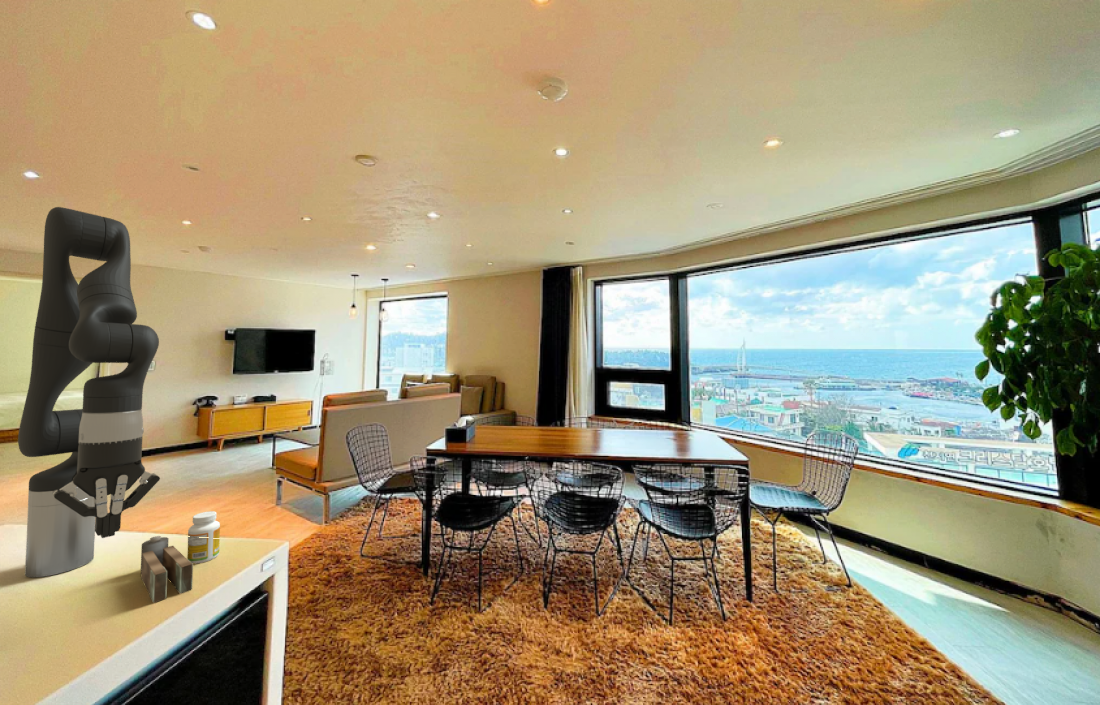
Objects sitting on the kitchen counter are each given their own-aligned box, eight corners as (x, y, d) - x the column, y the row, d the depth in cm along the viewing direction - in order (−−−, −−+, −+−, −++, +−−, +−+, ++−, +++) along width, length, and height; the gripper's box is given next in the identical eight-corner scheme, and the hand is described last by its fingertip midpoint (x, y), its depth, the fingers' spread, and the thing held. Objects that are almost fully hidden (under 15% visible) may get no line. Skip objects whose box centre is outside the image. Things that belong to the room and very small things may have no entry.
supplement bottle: (211, 550, 92) (212, 508, 92) (224, 555, 90) (225, 512, 90) (182, 560, 87) (183, 516, 87) (194, 566, 85) (196, 520, 85)
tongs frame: (138, 571, 82) (139, 538, 83) (167, 562, 86) (168, 531, 86) (160, 600, 73) (162, 563, 73) (192, 589, 76) (193, 554, 76)
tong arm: (140, 578, 80) (141, 553, 80) (152, 575, 81) (153, 550, 81) (152, 603, 72) (153, 575, 72) (166, 598, 73) (167, 571, 73)
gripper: (158, 428, 77) (154, 518, 77) (49, 439, 66) (43, 543, 66) (169, 434, 73) (164, 528, 72) (53, 446, 62) (48, 557, 61)
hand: (107, 535), depth 69 cm, fingers closed
